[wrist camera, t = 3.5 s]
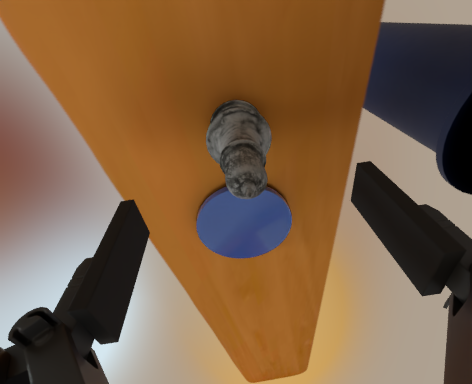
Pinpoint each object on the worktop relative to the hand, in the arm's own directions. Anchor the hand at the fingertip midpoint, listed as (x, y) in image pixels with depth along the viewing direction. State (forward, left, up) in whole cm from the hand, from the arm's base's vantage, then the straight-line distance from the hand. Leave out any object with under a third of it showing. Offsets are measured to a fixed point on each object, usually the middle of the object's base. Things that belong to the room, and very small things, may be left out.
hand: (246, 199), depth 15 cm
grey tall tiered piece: (0, 0, -13) cm, 13 cm away
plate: (-8, +9, -12) cm, 18 cm away
